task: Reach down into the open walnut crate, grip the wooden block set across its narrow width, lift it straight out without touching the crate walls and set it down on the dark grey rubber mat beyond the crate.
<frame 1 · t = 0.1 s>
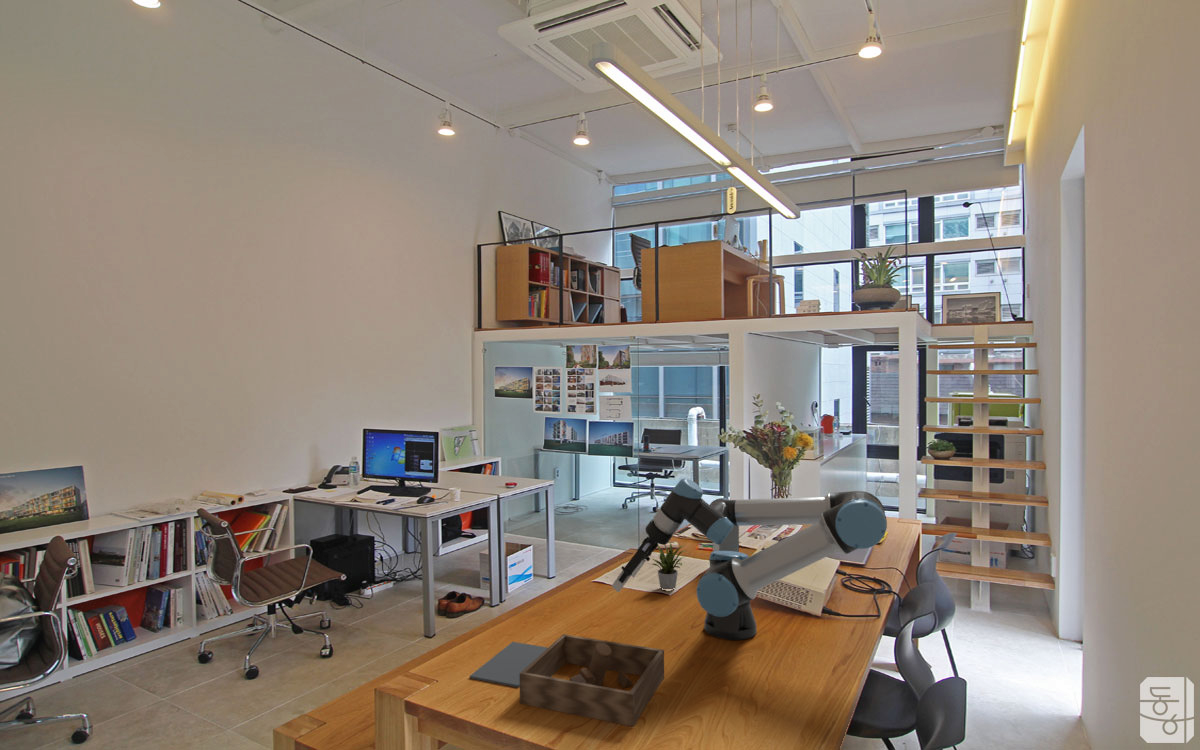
hand: (623, 581, 191), 15 cm above the table, tool tilted 35°, fingers open, 13 cm apart
hard drive box: (725, 572, 249), on the table
house plant: (671, 589, 230), on the table
mat: (515, 664, 173), on the table
crate: (594, 689, 158), on the table
wooden block set: (595, 692, 158), on the table
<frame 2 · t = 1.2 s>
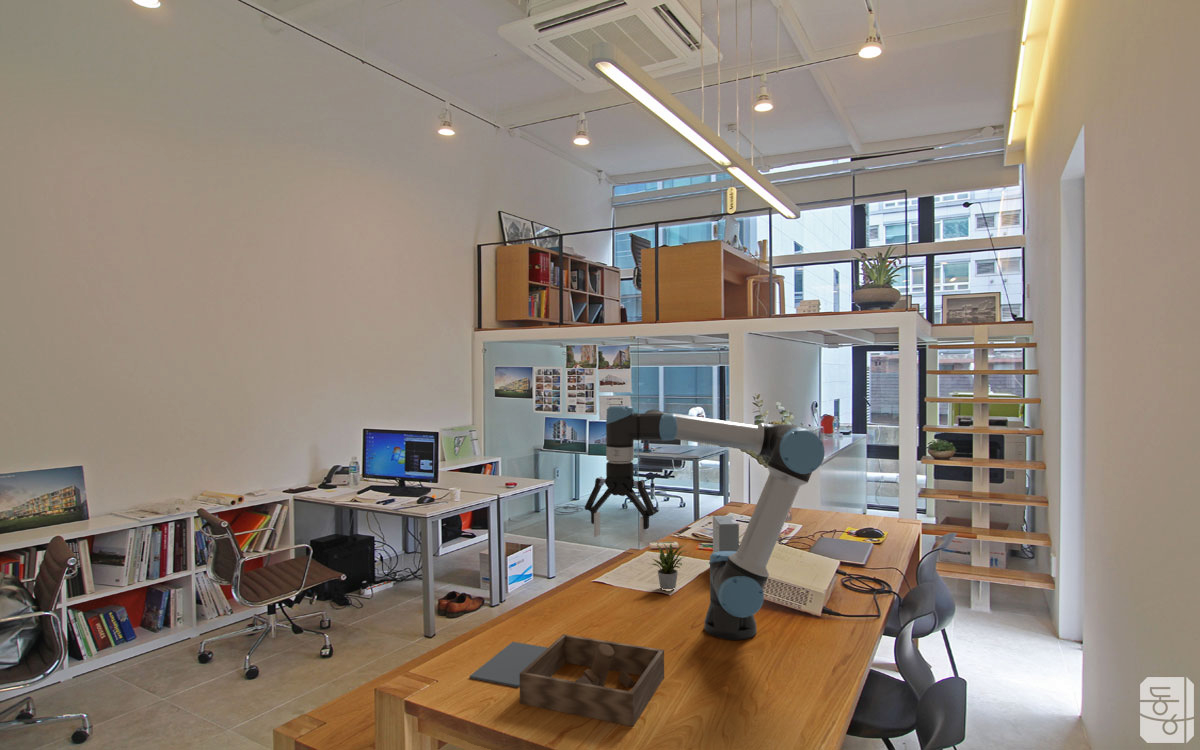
hand: (619, 538, 181), 31 cm above the table, tool pointing down, fingers open, 13 cm apart
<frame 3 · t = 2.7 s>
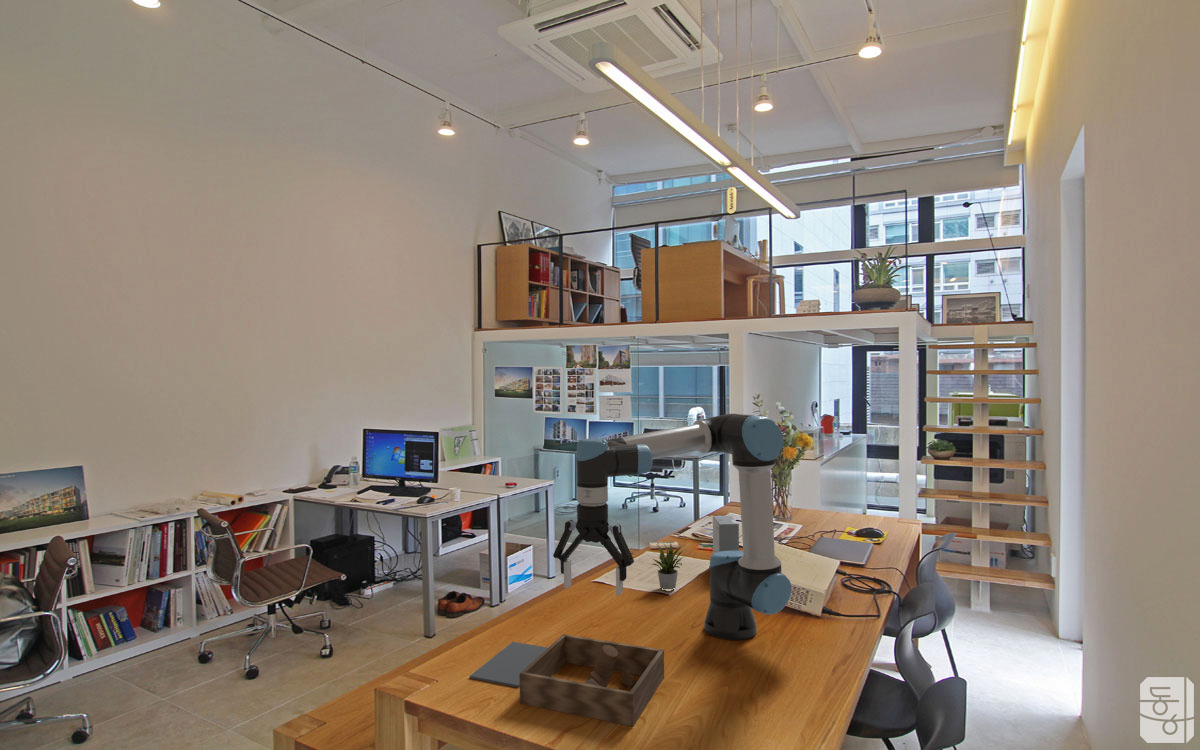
hand: (593, 590, 158), 24 cm above the table, tool pointing down, fingers open, 13 cm apart
wooden block set: (602, 695, 156), on the table
everything else where it was.
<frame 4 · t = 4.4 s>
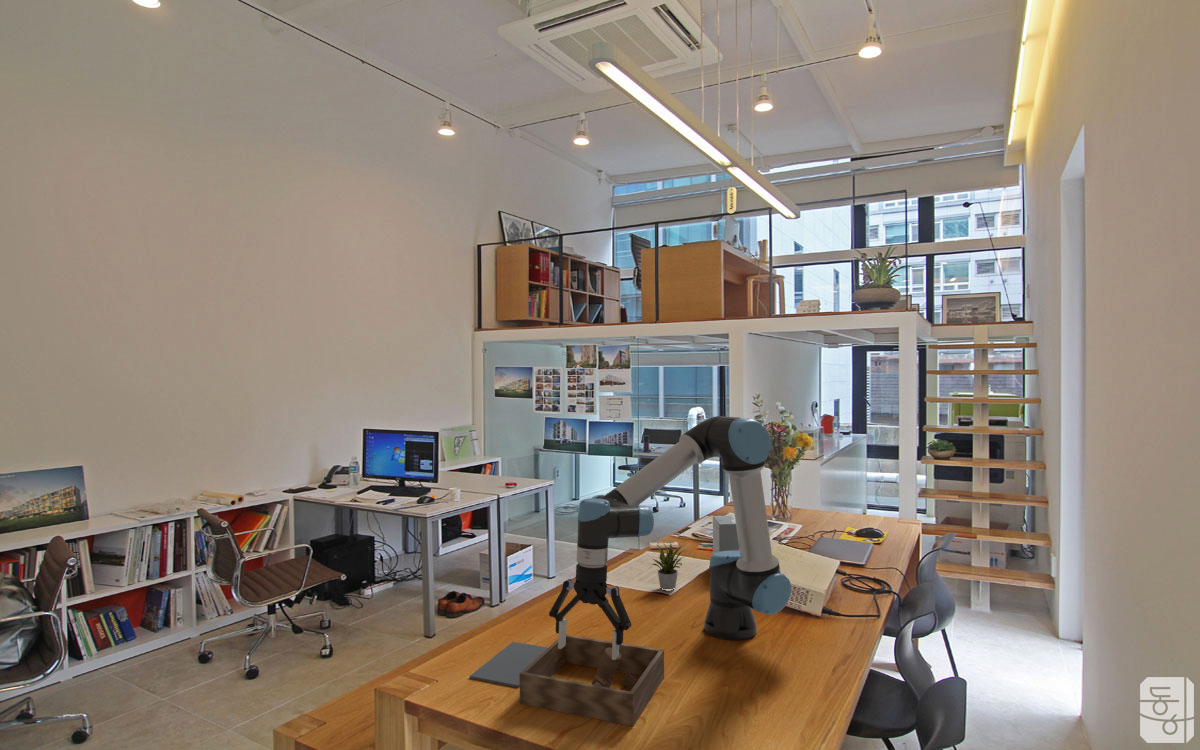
hand: (588, 653, 157), 10 cm above the table, tool pointing down, fingers open, 13 cm apart
wooden block set: (606, 698, 156), on the table, touching crate, gripper
everything else where it was.
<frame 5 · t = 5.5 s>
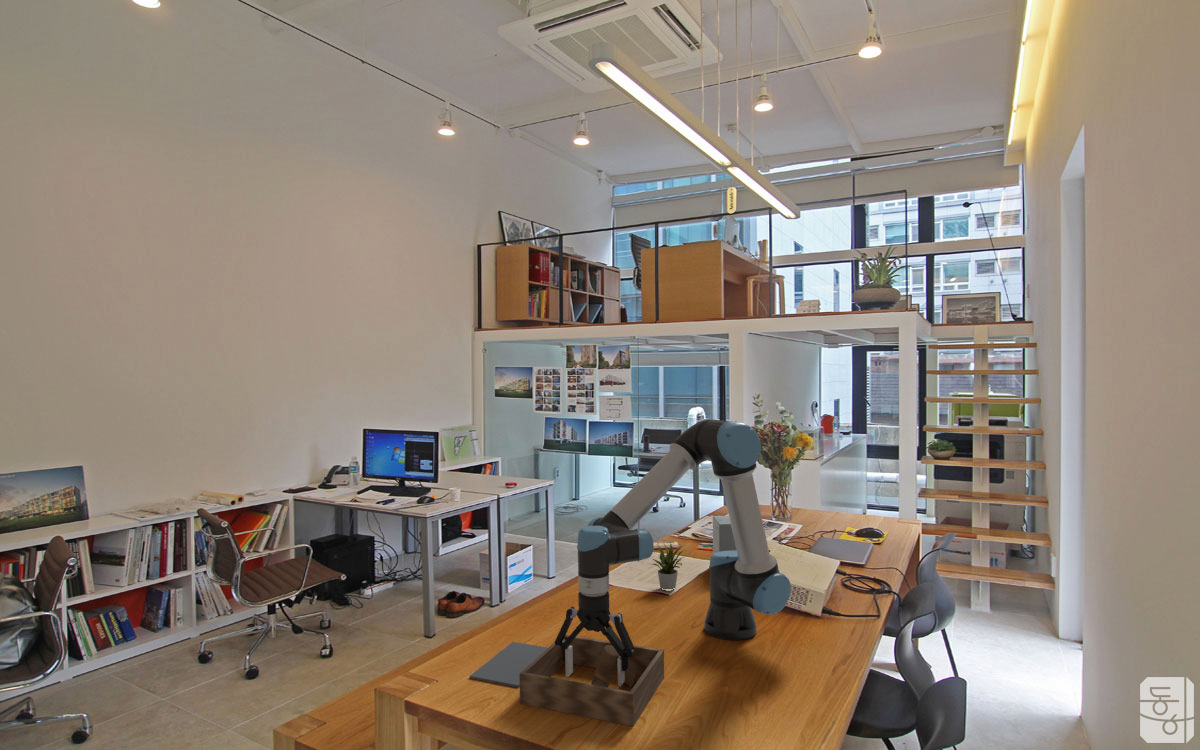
hand: (594, 678, 158), 3 cm above the table, tool pointing down, fingers open, 13 cm apart
wooden block set: (605, 696, 156), on the table, touching gripper
everything else where it was.
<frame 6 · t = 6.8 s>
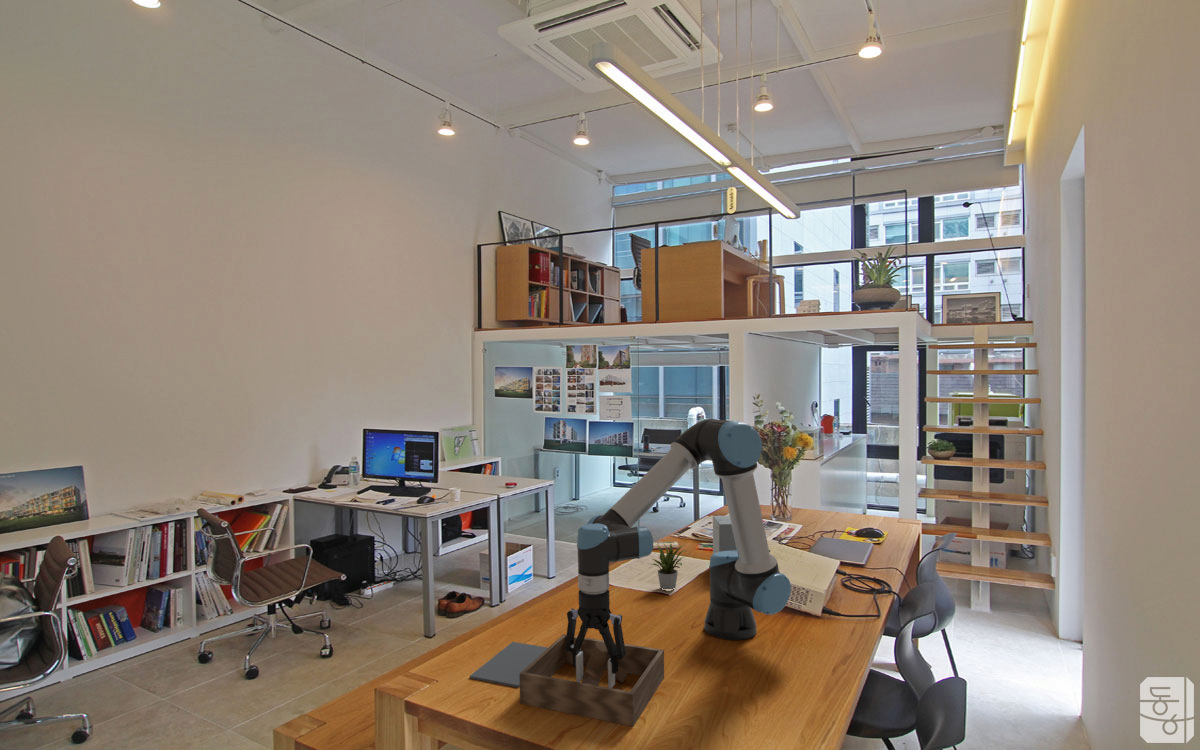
hand: (595, 682, 158), 2 cm above the table, tool pointing down, fingers closed on wooden block set, 8 cm apart
wooden block set: (597, 691, 157), on the table, touching gripper
everything else where it was.
when the fingers open (3 cm above the table, at t = 13.0 s): wooden block set drops 1 cm, resting on mat.
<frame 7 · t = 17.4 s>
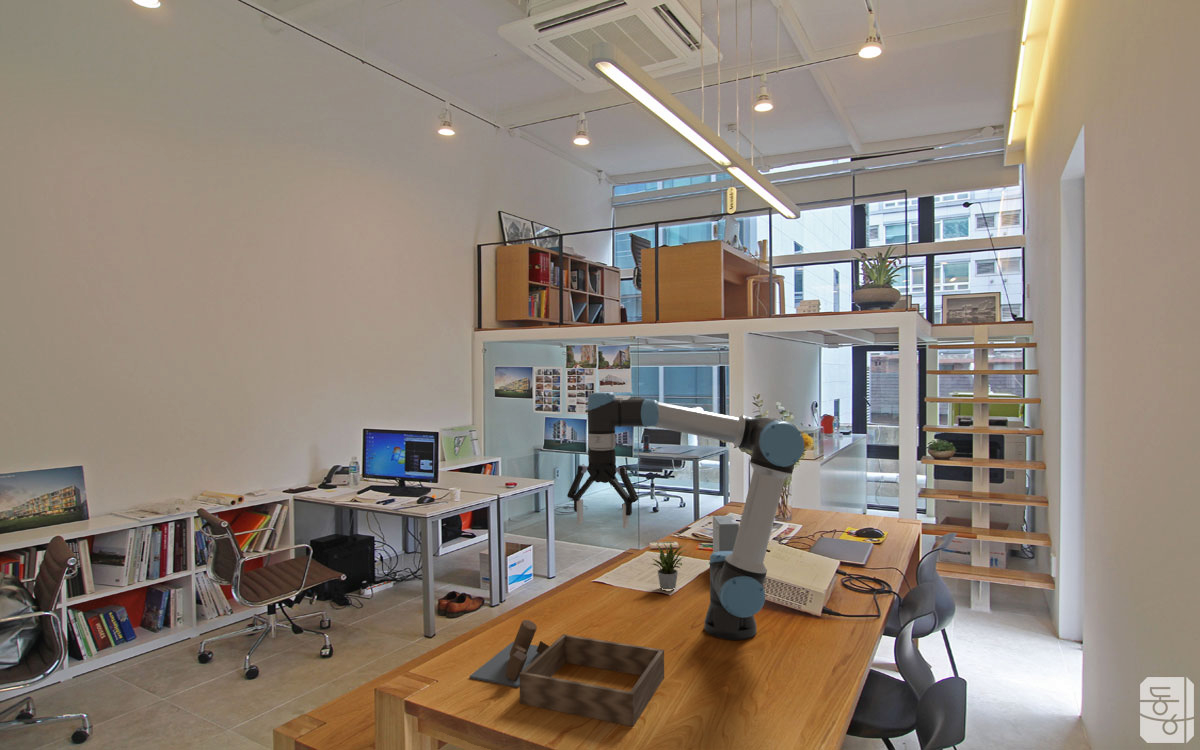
hand: (602, 525, 180), 35 cm above the table, tool pointing down, fingers open, 13 cm apart
wooden block set: (523, 666, 170), resting on mat
everything else where it was.
at the end: wooden block set inside the target area on the mat (3.3 cm from its centre), point 0.4 cm above the mat's base; wooden block set tilted 0°; wooden block set touching mat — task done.
